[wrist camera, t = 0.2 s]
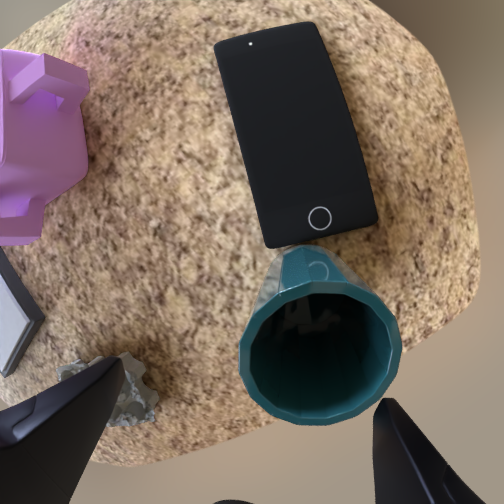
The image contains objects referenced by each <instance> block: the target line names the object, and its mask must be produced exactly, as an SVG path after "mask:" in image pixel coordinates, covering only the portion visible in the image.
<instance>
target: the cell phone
mask: <svg viewBox="0 0 504 504" xmlns="http://www.w3.org/2000/svg"><path fill="white" fill-rule="evenodd" d="M214 52H215V56H216V59H217V63H218V66H219V70H220V74H221V77H222V81H223V85H224V89H225V92H226V96H227V100H228V103H229V107H230V111H231V115H232V118H233V122H234V126H235V130H236V133H237V137H238V141H239V145H240V149H241V152H242V156H243V160H244V164H245V168H246V171H247V175H248V179H249V183H250V187H251V191H252V195H253V199H254V202H255V206H256V210H257V214H258V218H259V222H260V226H261V230H262V234H263V238H264V242H265V245H266V247H268V248H270V249H274V248H280V247H285V246H289V245H293V244H297V243H301V242H305V241H310V240H314V239H318V238H322V237H326V236H330V235H334V234H339V233H343V232H347V231H351V230H355V229H359V228H364V227H368V226H371V225H374V224H375V223H377V221H378V215H377V210H376V205H375V201H374V197H373V193H372V189H371V185H370V181H369V177H368V173H367V169H366V166H365V162H364V158H363V155H362V151H361V148H360V144H359V141H358V138H357V134H356V131H355V128H354V125H353V122H352V118H351V115H350V112H349V109H348V106H347V103H346V101H345V98H344V95H343V92H342V89H341V86H340V84H339V81H338V78H337V76H336V73H335V70H334V68H333V65H332V63H331V60H330V58H329V55H328V53H327V50H326V48H325V45H324V43H323V41H322V38H321V36H320V34H319V31H318V29H317V27H316V25H315V24H314V23H313V22H300V23H294V24H289V25H284V26H279V27H274V28H269V29H265V30H260V31H256V32H252V33H248V34H244V35H240V36H237V37H233V38H230V39H226V40H223V41H220V42H218V43H216V44H215V45H214Z"/></svg>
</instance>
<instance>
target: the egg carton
mask: <svg viewBox="0 0 504 504" xmlns="http://www.w3.org/2000/svg"><path fill="white" fill-rule="evenodd" d="M117 357H120V358H121V359H122V361H123V366H124V370H125V374H126V376H125V381H124V383H123V386H122V389H121V391H120V394H119V397H118V399H117V402H116V405H115V407H114V410H113V413H112V415H111V417H110V419H109V421H108V423H107V425H106V426H108V427H114V426H132V425H137V424H140V423H144V422H147V421H151V422H154V421H156V420H155V419H154V411H153V410H154V409H155V405H156V404H157V402H158V401H159V399H160V398H159V396H158V393H157V391H156V390H152V389H149V388H148V387H147V386H146V385H144V383H143V381H142V379H141V378H142V375H143V374H144V373H145V372H146V368H145V366H144V364H143V362H140V361H138V360H136V359H134V358H133V357H132V356H131V354H130V352H124V353H121V354H120V355H119V356H117ZM102 359H104V356H98V357H96V358H95V359H94V360H92V361H91V362H90V363H88V364H84V362H83V361H82V360H81V359H78V360H75V361H73V362H72V363H71V364H69V365H65V366H61V367H58V368H57V370H56V372H57V374H58V378H59V382H60V381H61V382H62V381H63V380H65V379H67V378H69V377H71V376H73V375H75V374H77V373H78V372H80V371H82V370H84V369H86V368H88V367H89V366H91V365H93V364H95V363H97V362H99V361H101V360H102Z"/></svg>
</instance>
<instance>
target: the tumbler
mask: <svg viewBox="0 0 504 504" xmlns="http://www.w3.org/2000/svg"><path fill="white" fill-rule="evenodd" d="M401 353H402V341H401V336H400V332H399V328H398V323H397V320H396V317H395V316H394V315H393V314H392V312H391V311H390V310H389V309H388V308H387V306H386V305H385V304H384V303H383V301H382V300H381V299H380V298H379V297H378V296H377V295H376V293H375V292H374V291H373V290H372V289H371V288H370V287H369V286H368V285H367V284H366V283H365V282H364V281H363V280H362V279H361V278H360V277H359V276H358V275H357V274H356V273H355V272H354V271H353V270H352V269H351V268H350V267H349V266H348V265H347V264H346V263H345V262H344V261H343V260H342V259H341V258H340V257H338V256H337V255H336V254H335V253H334V252H332V251H330V250H329V249H327V248H325V247H322V246H319V245H314V244H302V245H297V246H293V247H291V248H289V249H287V250H285V251H283V252H282V253H281V254H279V255H278V256H277V257H276V258H275V259H274V261H273V262H272V263H271V264H270V267H269V268H268V271H267V273H266V275H265V277H264V280H263V282H262V285H261V288H260V290H259V293H258V295H257V298H256V300H255V303H254V306H253V308H252V311H251V313H250V316H249V318H248V321H247V323H246V326H245V328H244V331H243V333H242V336H241V339H240V341H239V360H238V371H239V374H240V376H241V378H242V381H243V383H244V385H245V387H246V389H247V391H248V393H249V395H250V397H251V398H252V399H253V400H254V401H255V402H256V403H257V404H258V405H260V406H261V407H262V408H263V409H264V410H265V411H267V412H268V413H269V414H270V415H272V416H274V417H277V418H279V419H282V420H285V421H288V422H291V423H293V424H296V425H298V424H299V425H309V426H312V425H315V426H323V425H324V426H326V425H331V424H335V423H338V422H341V421H344V420H347V419H350V418H353V417H355V416H358V415H359V414H361V413H362V412H363V411H365V410H366V409H368V408H369V407H370V406H372V405H373V404H374V403H376V402H377V401H378V400H379V399H380V398H381V397H382V396H383V394H384V393H385V391H386V390H387V388H388V387H389V386H390V384H391V383H392V381H393V380H394V378H395V377H396V374H397V371H398V367H399V362H400V357H401Z"/></svg>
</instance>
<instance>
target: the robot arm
mask: <svg viewBox="0 0 504 504" xmlns="http://www.w3.org/2000/svg"><path fill="white" fill-rule="evenodd" d="M125 376H126V374H125V370H124V366H123V361H122V359H121V358H120V357H117V356H113V355H110V356H108V357H106V358H104V359H102V360H101V361H99V362H97V363H95V364H93V365H91V366H89V367H88V368H86V369H84V370H82V371H80V372H78V373H77V374H75V375H73V376H71V377H69V378H67V379H65V380H63V381H62V382H60V383H58V384H56V385H54V386H52V387H50V388H48V389H47V390H45V391H43V392H41V393H39V394H37V395H36V396H33V397H31V398H29V399H27V400H25V401H23V402H21V403H19V404H17V405H15V406H12V407H10V408H7V409H5V410H2V411H0V504H69V502H70V498H71V497H72V495H73V493H74V491H75V489H76V486H77V484H78V482H79V480H80V478H81V476H82V474H83V472H84V469H85V467H86V465H87V463H88V461H89V459H90V457H91V455H92V453H93V451H94V449H95V447H96V445H97V443H98V441H99V439H100V437H101V435H102V433H103V431H104V429H105V427H106V425H107V423H108V421H109V419H110V417H111V415H112V413H113V410H114V407H115V405H116V402H117V399H118V397H119V394H120V391H121V389H122V386H123V383H124V381H125ZM447 464H448V463H447V462H446V461H445V459H444V458H443V457H442V456H441V454H440V453H439V452H438V451H437V450H436V448H435V447H434V446H433V445H432V444H431V442H430V441H429V440H428V439H427V437H426V436H425V435H424V434H423V432H422V431H421V430H420V429H419V428H418V426H417V425H416V424H415V423H414V422H413V420H412V419H411V418H410V417H409V415H408V414H407V413H406V412H405V411H404V410H403V408H402V407H401V406H400V405H399V403H398V402H397V401H396V400H395V399H394V398H383V399H382V400H381V401H380V403H379V405H378V407H377V409H376V411H375V413H374V416H373V469H374V482H375V500H376V501H375V502H376V504H486V503H485V502H483V501H482V500H481V499H480V498H479V497H478V496H477V495H476V494H475V493H474V492H473V491H472V490H471V489H470V488H469V487H468V486H467V485H466V484H465V483H464V482H463V481H462V480H461V478H460V477H459V476H458V475H457V474H456V473H455V471H454V470H453V469H452V468H451V467H450V465H447Z"/></svg>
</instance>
